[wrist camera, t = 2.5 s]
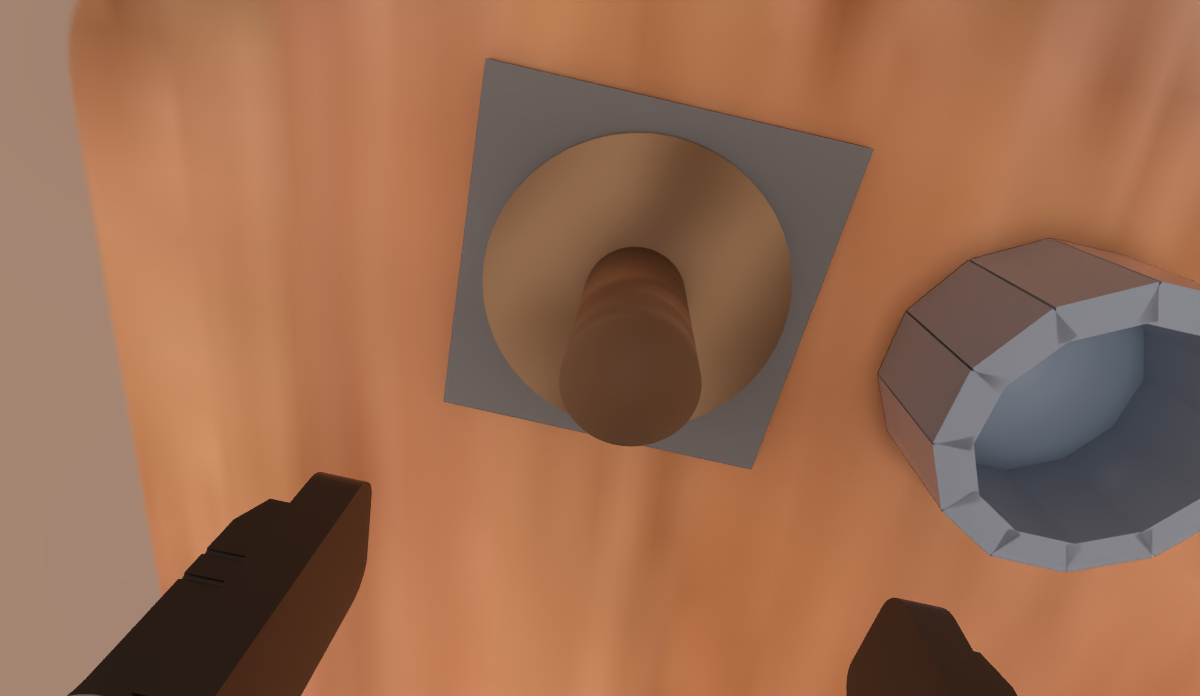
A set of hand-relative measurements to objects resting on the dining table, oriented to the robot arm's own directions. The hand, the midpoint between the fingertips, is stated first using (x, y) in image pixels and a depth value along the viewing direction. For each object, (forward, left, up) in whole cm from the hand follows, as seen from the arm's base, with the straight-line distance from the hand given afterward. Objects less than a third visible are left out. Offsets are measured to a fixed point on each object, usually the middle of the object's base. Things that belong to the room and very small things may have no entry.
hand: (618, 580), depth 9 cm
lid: (0, 0, -14) cm, 14 cm away
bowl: (-15, 0, -15) cm, 21 cm away
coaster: (0, 0, -15) cm, 15 cm away
